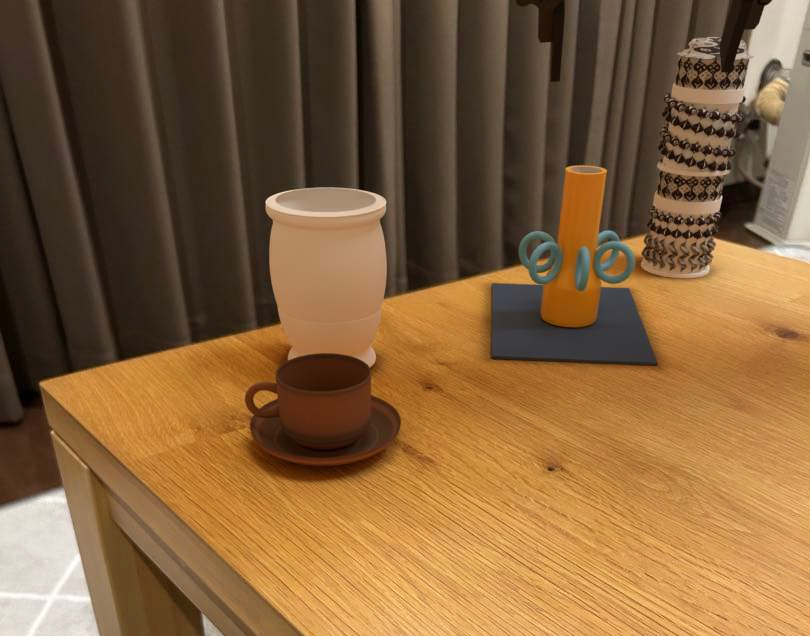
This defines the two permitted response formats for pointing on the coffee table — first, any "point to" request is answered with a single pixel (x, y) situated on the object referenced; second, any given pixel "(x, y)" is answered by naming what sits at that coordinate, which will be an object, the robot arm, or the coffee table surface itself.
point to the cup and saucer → (322, 412)
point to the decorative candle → (694, 160)
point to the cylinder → (576, 252)
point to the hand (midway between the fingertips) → (639, 64)
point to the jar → (328, 269)
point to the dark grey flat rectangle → (567, 329)
